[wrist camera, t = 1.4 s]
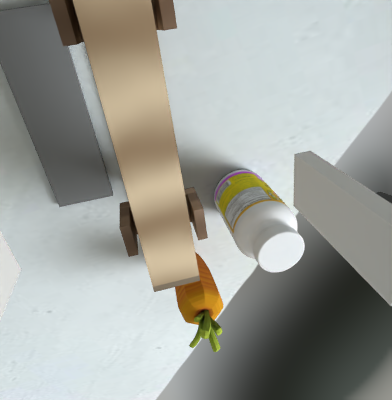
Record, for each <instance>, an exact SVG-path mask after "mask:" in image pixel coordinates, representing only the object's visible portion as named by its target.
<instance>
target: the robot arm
mask: <svg viewBox="0 0 392 400" xmlns="http://www.w3.org/2000/svg"><path fill="white" fill-rule="evenodd" d="M294 207H295V208H296V209H297V210H298V211H299V212H300V213H301V214H302V215H303V216H304V217H305V218H306V219H307V220H308V221H309V222H310V223H311V224H312V225H313V226H314V227H315V228H316V229H317V230H318V231H319V232H320V233H321V234H322V236H323V237H324V238H325V239H326V240H327V241H328V242H329V243H330V244H331V245H332V246H333V247H334V248H335V249H336V250H337V251H338V252H339V253H340V254H341V255H342V256H343V257H344V258H345V259H346V260H347V261H348V262H349V263H350V264H351V265H352V266H353V267H354V269H355V270H357V272H358V273H359V274H360V275H361V276H362V277H363V278H364V279H365V280H366V281H367V282H368V283H369V284H370V285H371V286H372V287H373V288H374V289H375V290H376V291H377V292H378V293H379V294H380V295H381V296H382V297H383V298H384V299H385V300H386V301H387V302H388V303H389V304H390V305H391V306H392V196H391V195H388V194H385V193H382V192H378V193H374V192H373V191H371V190H370V189H368V188H367V187H365V186H364V185H362V184H360V183H359V182H357V181H356V180H354V179H353V178H351V177H350V176H348V175H347V174H345V173H344V172H342V171H341V170H339V169H337V168H336V167H334V166H333V165H331V164H330V163H328V162H327V161H325V160H324V159H322V158H321V157H319V156H317V155H316V154H314V153H313V152H311V151H307V152H302V153H298V154H295V156H294ZM20 272H21V268H20V266H19V264H18V263H17V261H16V259H15V257H14V255H13V253H12V252H11V250H10V248H9V246H8V244H7V242H6V240H5V239H4V237H3V235H2V233H1V231H0V320H1V318H2V315H3V313H4V311H5V308H6V306H7V303H8V301H9V298H10V296H11V294H12V291H13V289H14V286H15V284H16V281H17V279H18V276H19V274H20Z"/></svg>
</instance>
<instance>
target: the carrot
mask: <svg viewBox="0 0 392 400" xmlns="http://www.w3.org/2000/svg"><path fill="white" fill-rule="evenodd" d="M195 254H196V260H197V266H198V271H199V277H200V281H196V282H192V283H188V284H184V285H180V286H176V287H175V289H176V296H177V302H178V307H179V310H180V312H181V314H182V316H183V318H184V320H185V321H186V322H187V323H192V324H197V325H199V327H198V331H197V334H196V336H195V338H194V339H193V341H192V342H191V344H190V345H189V346H190V347H192V348H194V347H195V346H196V345H197V343H198V342H199V340H200V338H204V339H207V338H209V340H210V343H211V346H212V349H213V351H214V352H217V351H218V350H219V349H220V345H219V343H218V340H217V338H216V335H215V333H216V334H217V335H220V334H221V333H222V329H221V327H220V326H219V325H218V323H216V322H215V321H214V320H215V319H216V317H217V316H218V315H219V313H220V312H221V310H222V309H223V302H222V299H221V297H220V294H219V292H218V289H217V287H216V284H215V282H214V279H213V277H212V275H211V272H210V270H209V268H208V267H207V265H206V264H205V262H204V261H203V259H202V258H201V257H200V256H199V255H198V254H197V253H196V252H195ZM214 332H215V333H214Z"/></svg>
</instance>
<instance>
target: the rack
mask: <svg viewBox="0 0 392 400" xmlns="http://www.w3.org/2000/svg"><path fill="white" fill-rule="evenodd" d="M49 3H50V6H51V9H52V12H53V15H54V19H55V22H56V25H57V28H58V31H59V35H60V38H61V41H62V44H63V46H70V45H76V44H79V43H81V42H84V39H83V35H82V32H81V28H80V25H79V21H78V17H77V14H76V10H75V7H74V3H73V0H49ZM151 3H152V8H153V14H154V20H155V25H156V30H169V29H175V28H177V25H176V18H175V11H174V4H173V0H151ZM184 191H185V197H186V203H187V208H188V214H189V220H190V222H192V223H193V226H194V229H195V232H196V235H197V237H198V240H202V239H206V238H208V237H207V231H206V224H205V217H204V210H203V207H202V205H201V202H200V200H199V198H198V196H197V193H196V191H195V189H194V187H192V188H187V189H184ZM120 230H121V233H122V237H123V240H124V243H125V246H126V249H127V253H128V256H129V257H130V256H134V255H138V244H137V234H138V232H137V228H136V225H135V221H134V217H133V214H132V210H131V207H130V203H129V201H128V202H123V203H120Z"/></svg>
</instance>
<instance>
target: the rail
mask: <svg viewBox="0 0 392 400" xmlns="http://www.w3.org/2000/svg"><path fill="white" fill-rule="evenodd" d="M73 3H74V7H75V10H76V14H77V17H78V21H79V25H80V28H81V32H82V35H83V39H84V42H85V46H86V50H87V53H88V57H89V60H90V64H91V67H92V71H93V75H94V78H95V82H96V85H97V89H98V92H99V96H100V100H101V103H102V107H103V110H104V114H105V117H106V121H107V125H108V128H109V132H110V135H111V139H112V142H113V146H114V150H115V153H116V157H117V160H118V164H119V167H120V171H121V175H122V178H123V182H124V185H125V189H126V192H127V196H128V200H129V203H130V207H131V210H132V214H133V217H134V221H135V225H136V228H137V232H138V235H139V239H140V242H141V246H142V250H143V253H144V257H145V260H146V264H147V267H148V271H149V275H150V278H151V282H152V285H153V289H154V292H156V291H160V290H164V289H168V288H172V287H176V286H180V285H184V284H188V283H192V282H196V281H200V277H199V271H198V266H197V260H196V254H195V248H194V243H193V237H192V231H191V226H190V220H189V214H188V208H187V203H186V197H185V191H184V186H183V180H182V174H181V168H180V163H179V157H178V151H177V145H176V140H175V134H174V128H173V123H172V117H171V111H170V105H169V100H168V94H167V88H166V83H165V77H164V71H163V65H162V60H161V54H160V48H159V43H158V37H157V31H156V25H155V20H154V14H153V8H152V3H151V0H73Z"/></svg>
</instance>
